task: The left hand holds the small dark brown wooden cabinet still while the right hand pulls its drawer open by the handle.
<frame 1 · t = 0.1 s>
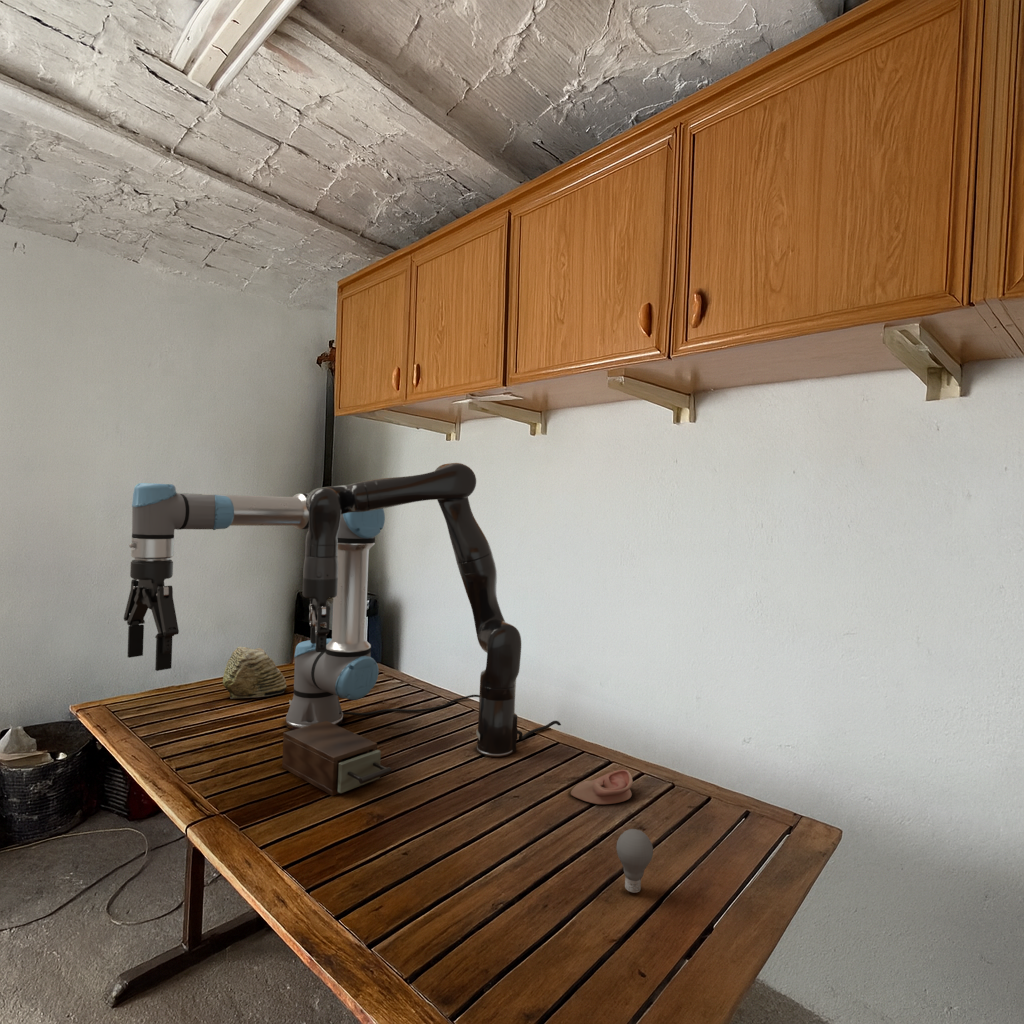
left hand: (148, 662, 129), 28 cm above the table, tool pointing down, fingers open, 13 cm apart
right hand: (318, 647, 143), 29 cm above the table, tool pointing down, fingers open, 8 cm apart
fossil: (254, 694, 198), on the table
cabinet: (328, 773, 145), on the table
drawer: (343, 762, 142), point 4 cm above the table, slide at 0.9 cm
anatomical model: (601, 794, 141), on the table
light bulb: (632, 891, 106), on the table
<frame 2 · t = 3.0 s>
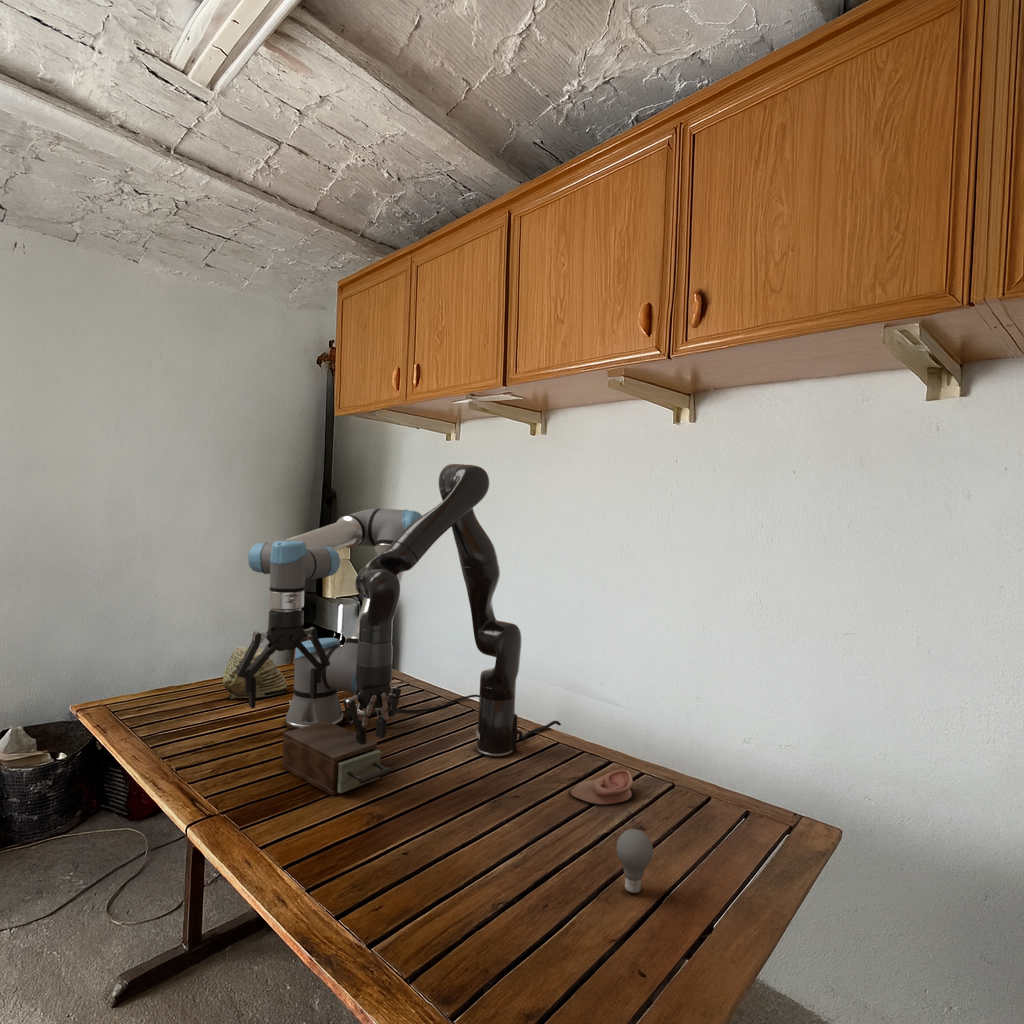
left hand: (283, 701, 144), 16 cm above the table, tool pointing down, fingers open, 13 cm apart
right hand: (371, 739, 135), 12 cm above the table, tool pointing down, fingers open, 4 cm apart
nothing on the table moved.
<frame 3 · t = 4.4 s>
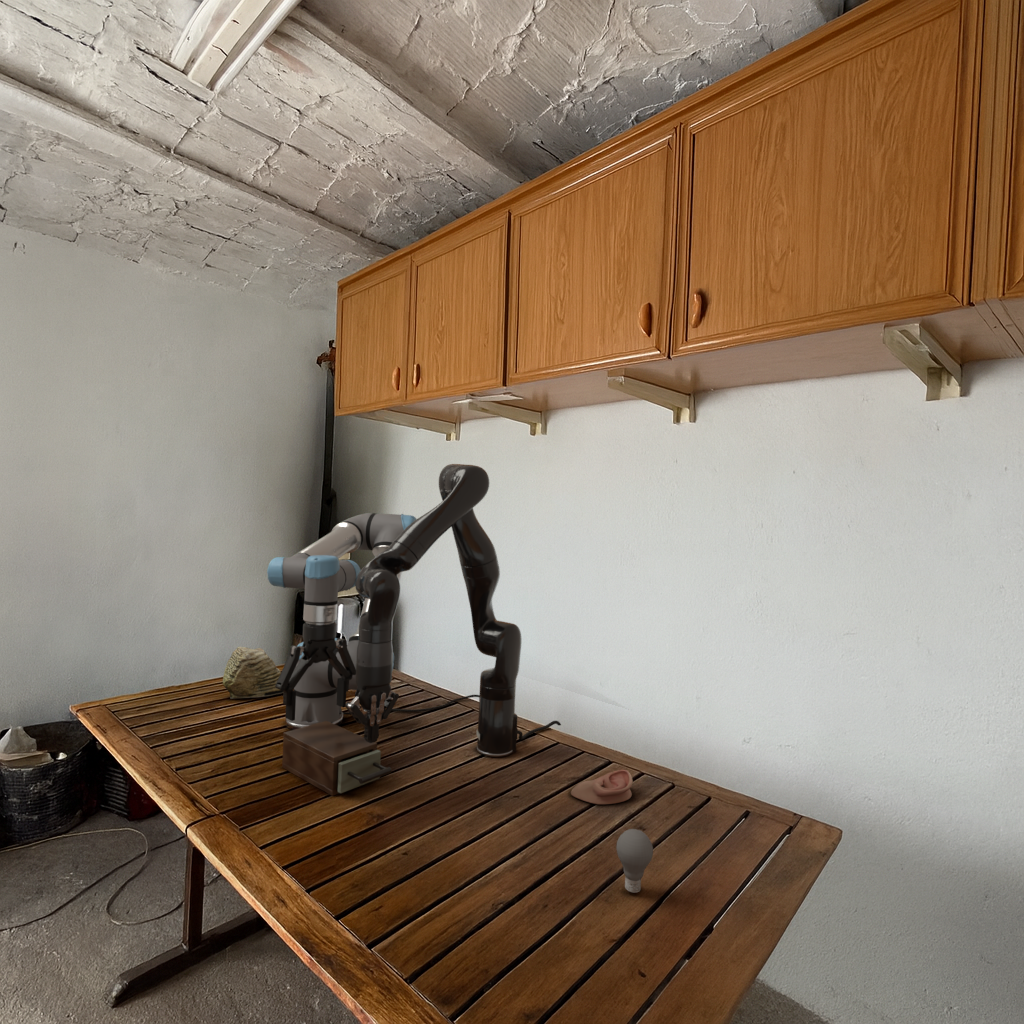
left hand: (316, 712, 148), 13 cm above the table, tool pointing down, fingers open, 13 cm apart
right hand: (371, 741, 135), 12 cm above the table, tool pointing down, fingers closed
nothing on the table moved.
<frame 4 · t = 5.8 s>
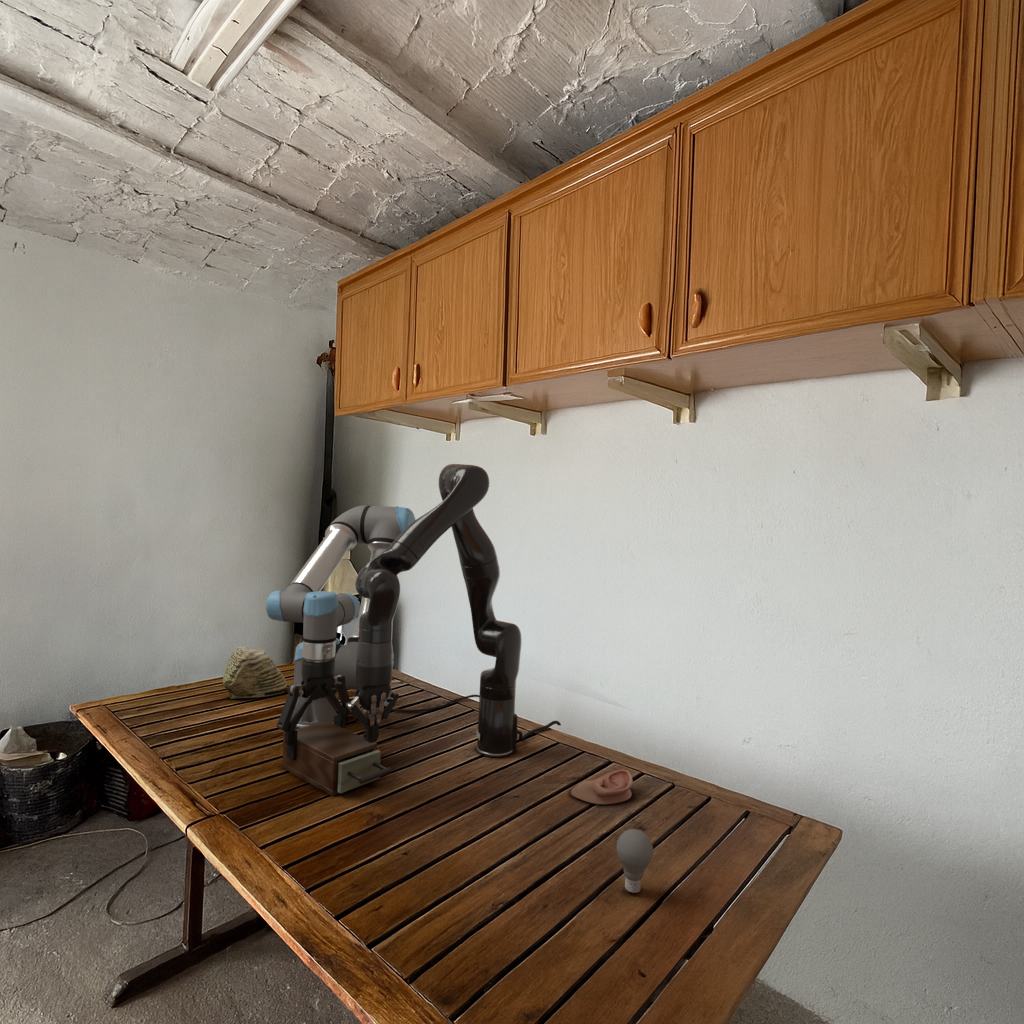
left hand: (315, 750, 149), 4 cm above the table, tool pointing down, fingers closed on cabinet, 11 cm apart
right hand: (371, 741, 135), 12 cm above the table, tool pointing down, fingers closed
cabinet: (328, 773, 145), on the table, touching left hand
everything else where it was.
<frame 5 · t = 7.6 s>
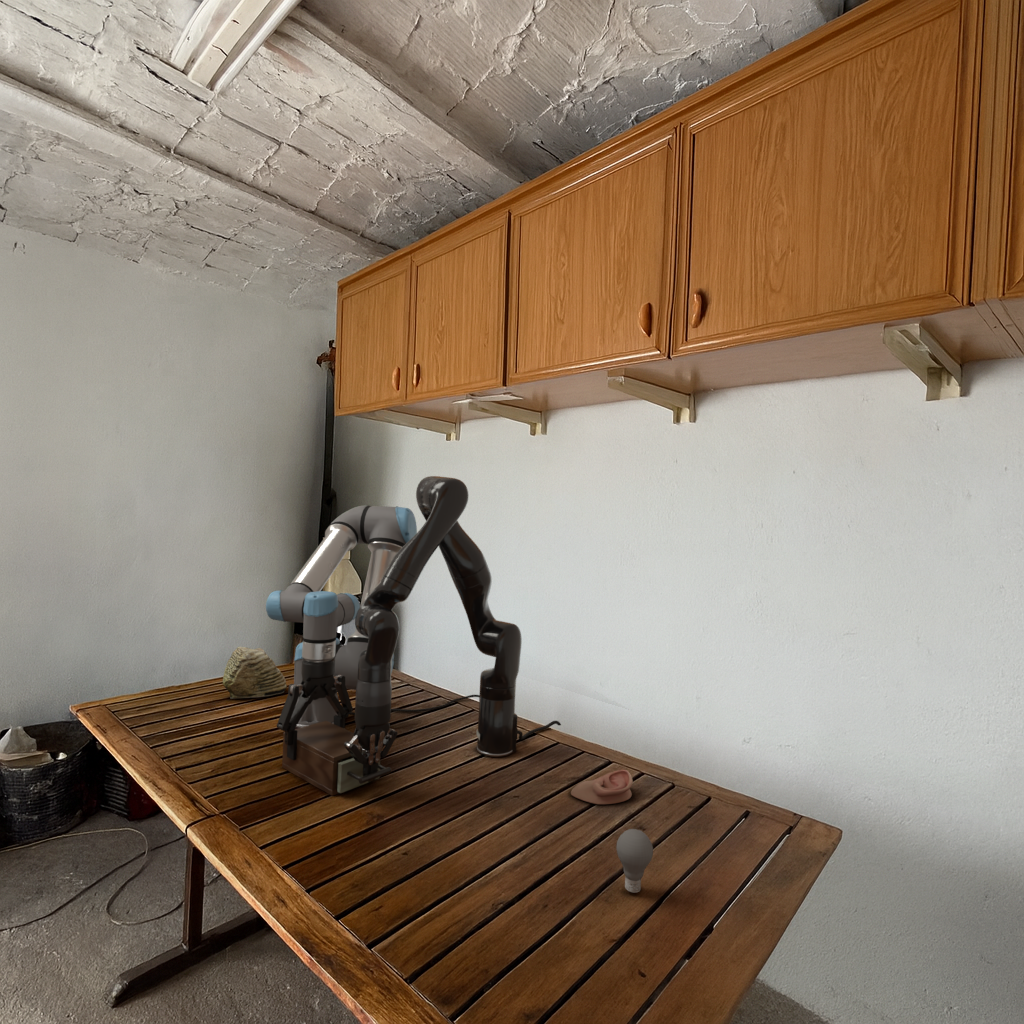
left hand: (315, 750, 149), 4 cm above the table, tool pointing down, fingers closed on cabinet, 11 cm apart
right hand: (370, 779, 135), 3 cm above the table, tool pointing down, fingers closed
cabinet: (328, 773, 145), on the table, touching left hand
drawer: (343, 762, 142), point 4 cm above the table, slide at 0.9 cm, touching right hand
everything else where it was.
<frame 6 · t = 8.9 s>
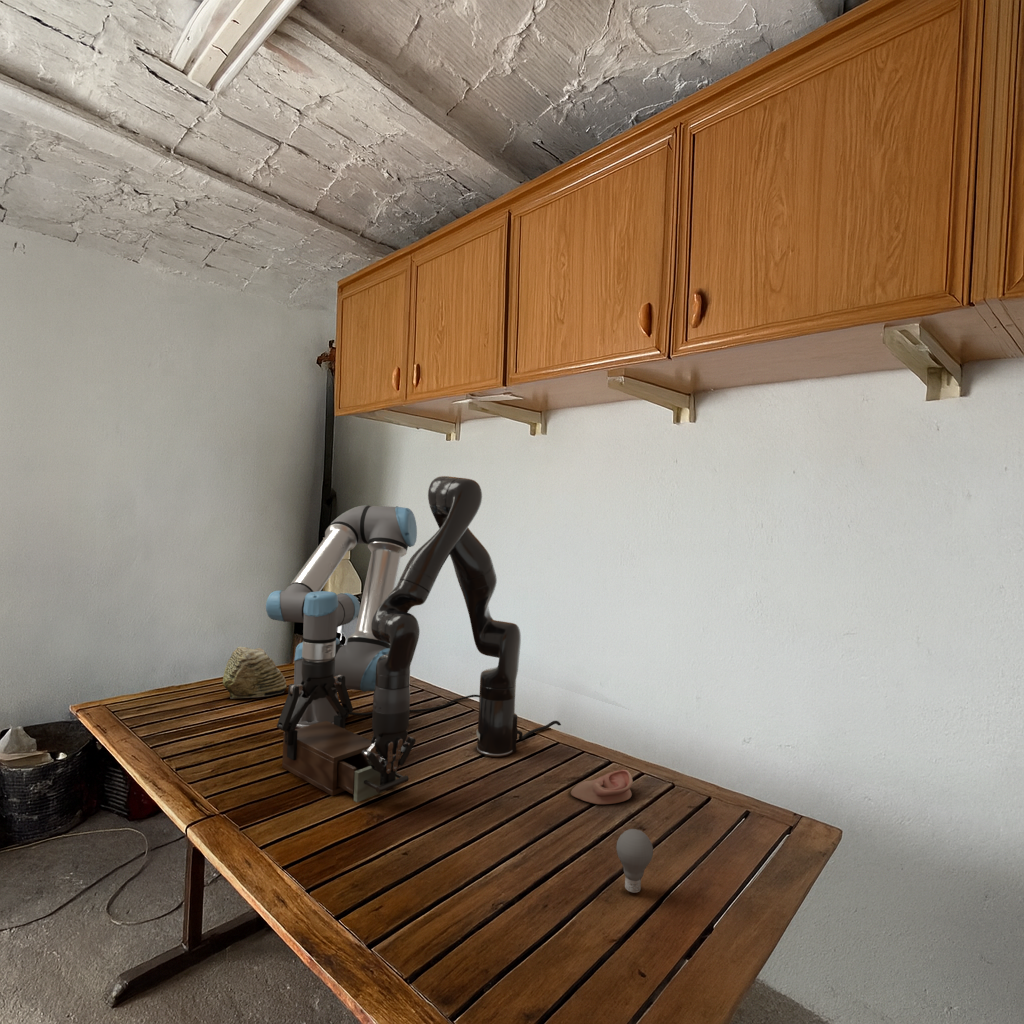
left hand: (315, 750, 149), 4 cm above the table, tool pointing down, fingers closed on cabinet, 11 cm apart
right hand: (387, 788, 132), 3 cm above the table, tool pointing down, fingers closed
cabinet: (328, 773, 145), on the table, touching left hand
drawer: (358, 770, 138), point 4 cm above the table, slide at 6.6 cm, touching right hand
everything else where it was.
when the left hand's fingers open (4 cm above the table, at t = 10.9 s): cabinet stays where it is, on the table.
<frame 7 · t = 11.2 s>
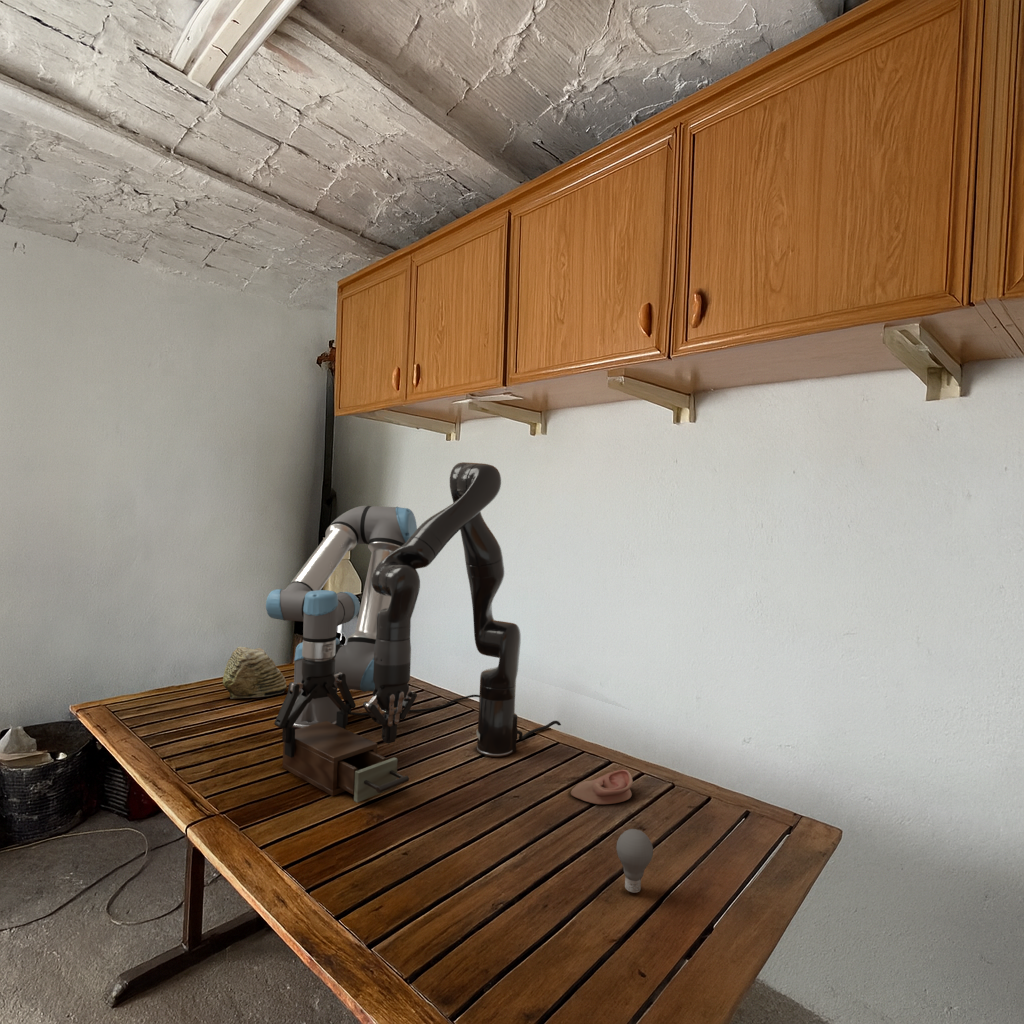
left hand: (315, 747, 149), 4 cm above the table, tool pointing down, fingers open, 13 cm apart
right hand: (389, 741, 132), 13 cm above the table, tool pointing down, fingers closed
cabinet: (328, 773, 145), on the table
drawer: (359, 770, 138), point 4 cm above the table, slide at 6.6 cm
everything else where it was.
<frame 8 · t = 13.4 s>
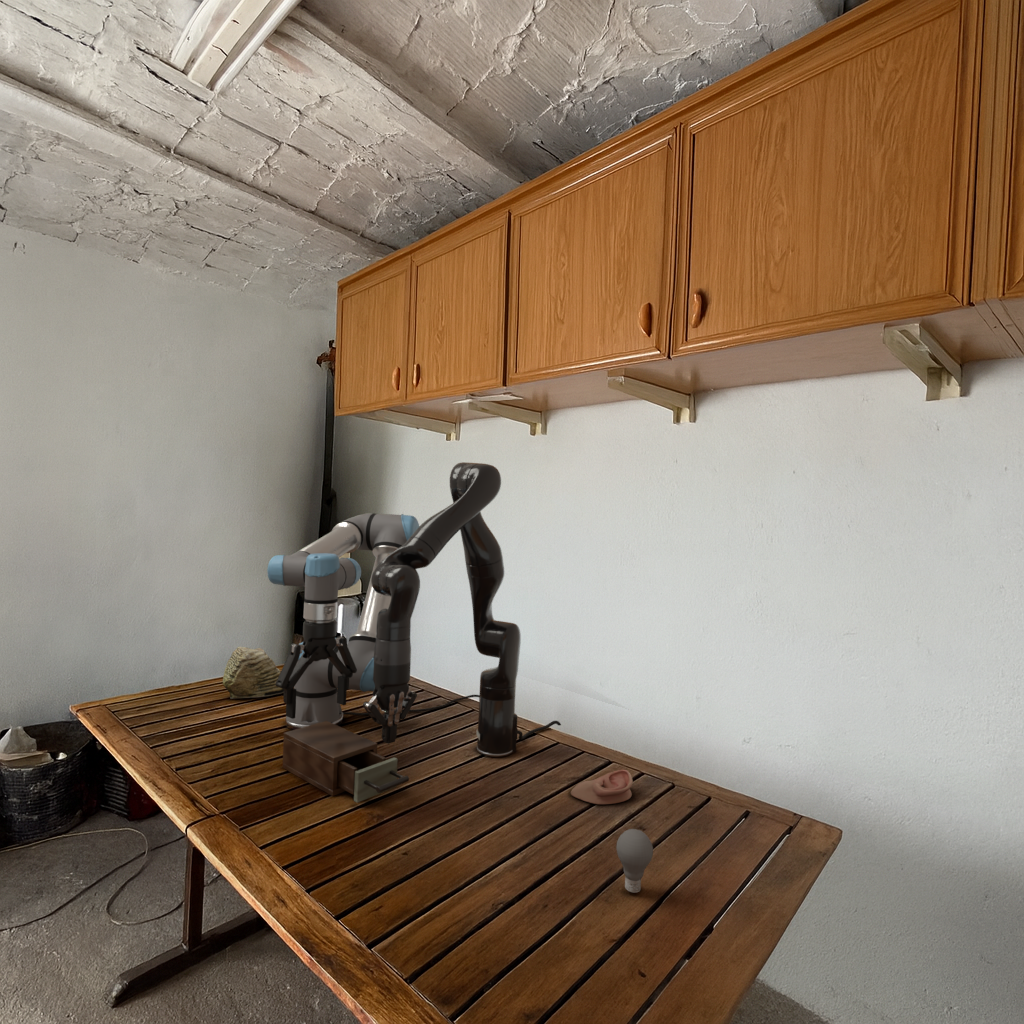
left hand: (316, 710, 148), 13 cm above the table, tool pointing down, fingers open, 13 cm apart
right hand: (389, 741, 132), 13 cm above the table, tool pointing down, fingers closed
nothing on the table moved.
at the end: drawer slide at 6.6 cm; cabinet tilted 0°; cabinet never tilted more than 1° during the clip; cabinet moved 0.1 cm from its start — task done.
